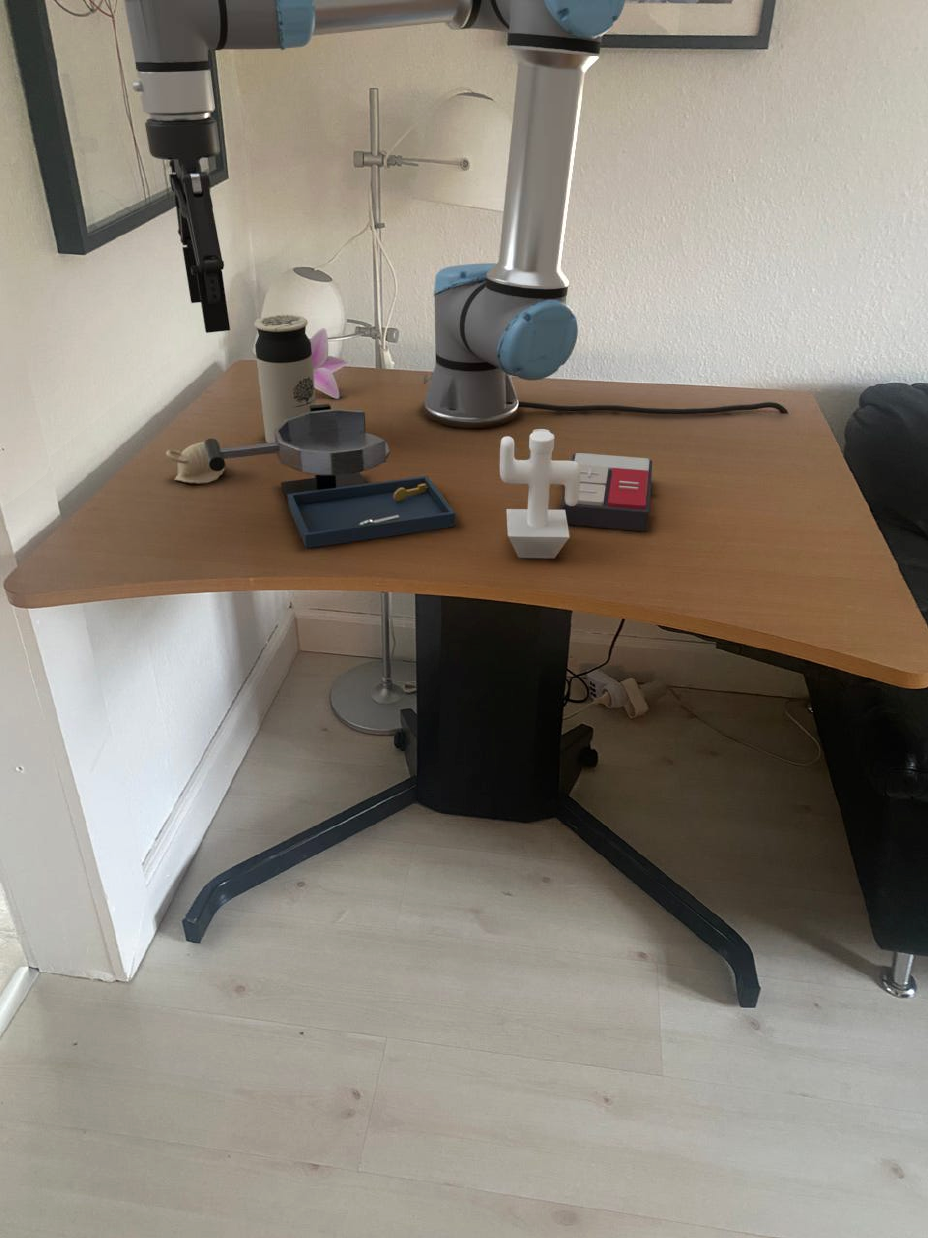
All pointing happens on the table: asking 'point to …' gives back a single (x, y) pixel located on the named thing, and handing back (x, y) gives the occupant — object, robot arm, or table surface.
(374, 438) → the grey frying pan
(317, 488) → the stand
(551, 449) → the figurine
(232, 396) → the table surface
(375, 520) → the nickel key
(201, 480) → the decorative ornament
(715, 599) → the table surface
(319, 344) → the lily
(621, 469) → the calculator
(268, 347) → the travel mug
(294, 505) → the tray
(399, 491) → the brass key
